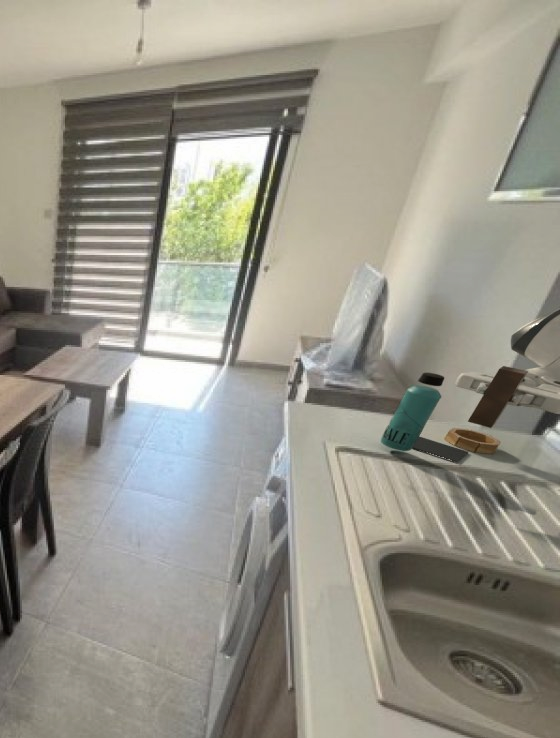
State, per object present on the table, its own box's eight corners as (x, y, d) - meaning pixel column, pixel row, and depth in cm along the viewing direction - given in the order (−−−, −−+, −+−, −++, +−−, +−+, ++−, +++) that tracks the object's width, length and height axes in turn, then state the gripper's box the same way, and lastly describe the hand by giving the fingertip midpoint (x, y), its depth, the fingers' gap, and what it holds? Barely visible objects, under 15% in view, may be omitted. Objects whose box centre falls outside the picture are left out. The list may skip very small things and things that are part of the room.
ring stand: (498, 447, 123) (503, 439, 122) (489, 457, 118) (495, 448, 117) (450, 433, 130) (455, 425, 129) (440, 441, 125) (446, 433, 124)
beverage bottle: (407, 449, 120) (449, 373, 111) (411, 459, 115) (456, 381, 106) (375, 441, 123) (413, 367, 114) (378, 451, 118) (418, 375, 109)
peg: (495, 424, 120) (528, 371, 114) (491, 428, 118) (525, 374, 111) (471, 417, 123) (503, 365, 117) (467, 421, 121) (499, 368, 115)
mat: (467, 453, 120) (468, 451, 120) (456, 463, 115) (457, 462, 114) (417, 437, 127) (418, 436, 127) (405, 446, 122) (406, 445, 121)
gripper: (477, 364, 129) (451, 369, 123) (587, 390, 113) (564, 397, 107) (464, 386, 132) (438, 392, 126) (570, 414, 116) (546, 423, 110)
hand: (497, 394), depth 117 cm, fingers closed on peg, 5 cm apart
